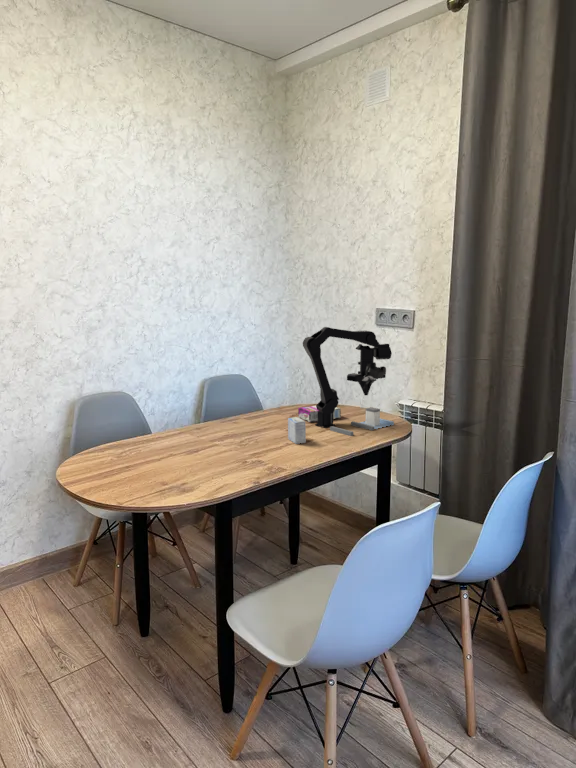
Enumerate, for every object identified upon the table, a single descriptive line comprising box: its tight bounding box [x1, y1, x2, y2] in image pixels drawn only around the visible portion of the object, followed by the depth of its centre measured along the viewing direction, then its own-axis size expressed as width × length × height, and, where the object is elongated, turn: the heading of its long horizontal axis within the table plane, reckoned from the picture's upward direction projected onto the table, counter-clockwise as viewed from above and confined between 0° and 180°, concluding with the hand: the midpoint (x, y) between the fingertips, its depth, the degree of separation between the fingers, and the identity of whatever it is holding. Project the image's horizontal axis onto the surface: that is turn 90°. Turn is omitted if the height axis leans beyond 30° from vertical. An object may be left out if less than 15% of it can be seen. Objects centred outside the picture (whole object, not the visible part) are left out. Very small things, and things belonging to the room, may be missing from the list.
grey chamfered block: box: [365, 406, 381, 426], centre depth 230 cm, size 4×5×7 cm
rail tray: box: [329, 418, 395, 437], centre depth 226 cm, size 27×12×2 cm, turn 130°
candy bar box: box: [297, 405, 342, 423], centre depth 243 cm, size 11×5×16 cm
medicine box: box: [287, 416, 307, 445], centre depth 206 cm, size 8×4×9 cm, turn 22°
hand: (366, 395), depth 232 cm, fingers closed
